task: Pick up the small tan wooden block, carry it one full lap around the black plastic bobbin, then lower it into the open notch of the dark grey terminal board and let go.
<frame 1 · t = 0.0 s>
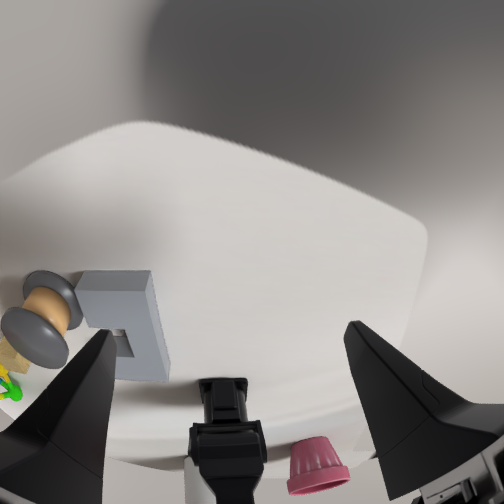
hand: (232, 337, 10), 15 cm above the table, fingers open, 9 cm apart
cylinder vase: (209, 459, 56), on the table
tan wooden block: (25, 331, 28), on the table
bobbin: (53, 300, 26), on the table
notch board: (130, 323, 29), on the table
plant pot: (308, 442, 56), on the table
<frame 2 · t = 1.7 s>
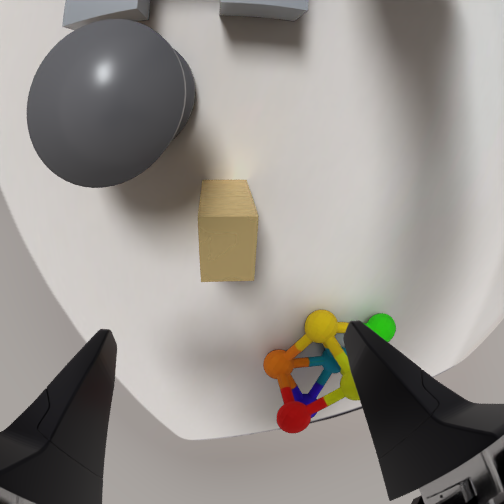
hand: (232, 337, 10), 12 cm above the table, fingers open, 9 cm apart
tan wooden block: (224, 206, 20), on the table
bobbin: (134, 97, 15), on the table
molecular model: (318, 336, 30), on the table
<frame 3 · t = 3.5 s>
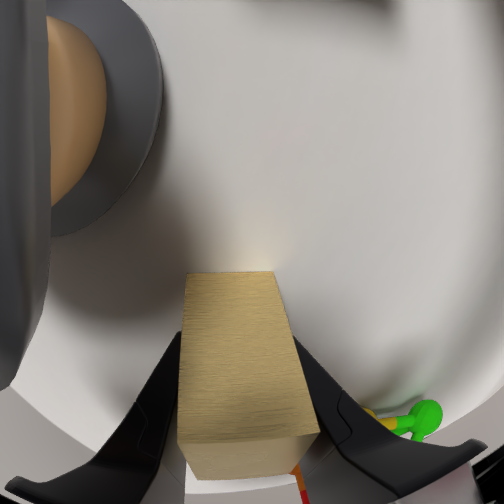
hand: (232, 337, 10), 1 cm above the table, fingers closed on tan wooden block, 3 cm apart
tan wooden block: (229, 314, 11), on the table, touching gripper
bobbin: (41, 110, 6), on the table
molecular model: (346, 424, 20), on the table
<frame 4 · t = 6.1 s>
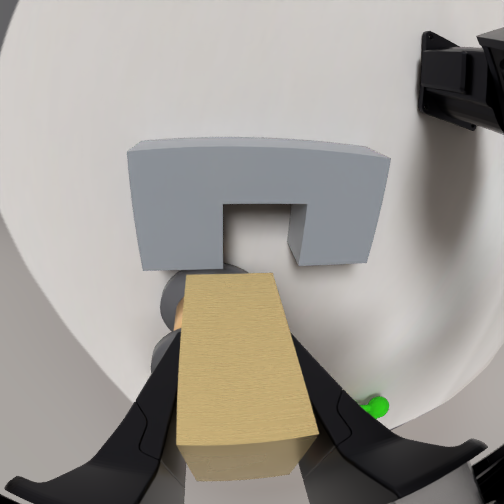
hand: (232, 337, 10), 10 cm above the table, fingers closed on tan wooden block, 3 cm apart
tan wooden block: (229, 315, 11), point 9 cm above the table, touching gripper
bobbin: (212, 305, 22), on the table
notch board: (257, 193, 18), on the table
molecular model: (332, 409, 36), on the table
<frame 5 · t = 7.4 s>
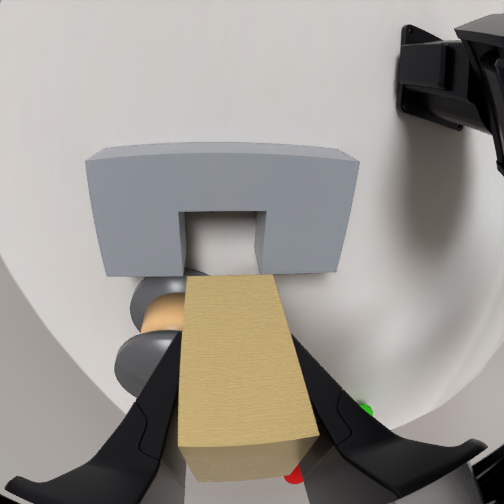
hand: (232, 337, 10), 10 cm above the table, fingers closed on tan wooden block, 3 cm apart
tan wooden block: (229, 316, 11), point 8 cm above the table, touching gripper
bobbin: (182, 310, 21), on the table
notch board: (220, 198, 17), on the table
when the fingers open (4 cm above the table, at t = 8.6 s): tan wooden block drops 2 cm, on the table.
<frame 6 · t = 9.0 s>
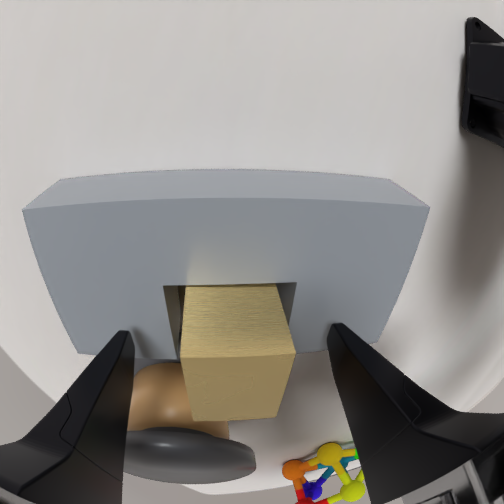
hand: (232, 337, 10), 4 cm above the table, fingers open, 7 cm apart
tan wooden block: (225, 278, 13), on the table
bobbin: (179, 373, 17), on the table
notch board: (226, 249, 12), on the table
molecular model: (326, 449, 31), on the table
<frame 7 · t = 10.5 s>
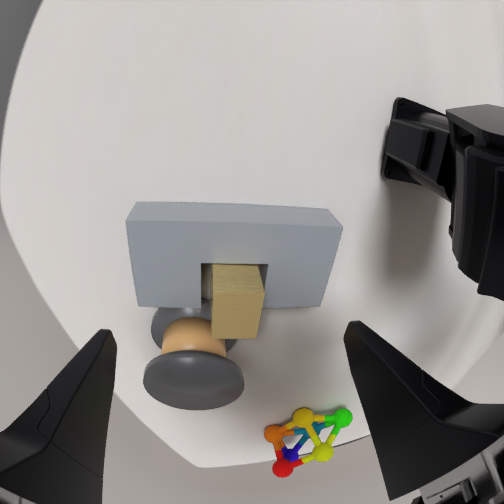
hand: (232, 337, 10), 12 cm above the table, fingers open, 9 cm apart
tan wooden block: (230, 263, 23), on the table
bobbin: (194, 329, 26), on the table
notch board: (231, 246, 22), on the table
molecular model: (301, 417, 41), on the table
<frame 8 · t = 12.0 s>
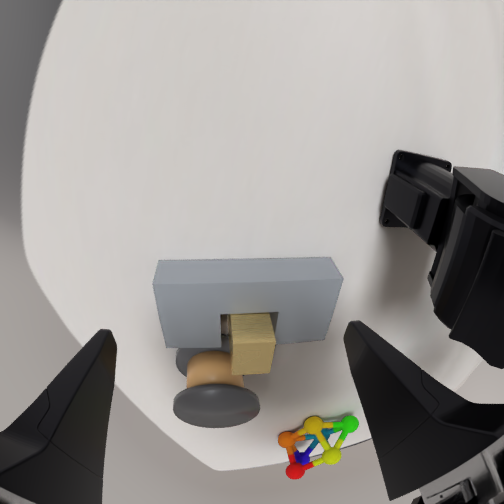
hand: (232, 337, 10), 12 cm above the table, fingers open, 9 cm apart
tan wooden block: (244, 306, 25), on the table
bobbin: (213, 358, 29), on the table
notch board: (245, 293, 25), on the table
molecular model: (311, 424, 43), on the table
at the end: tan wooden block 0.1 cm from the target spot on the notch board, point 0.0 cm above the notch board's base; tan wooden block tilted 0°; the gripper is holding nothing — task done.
